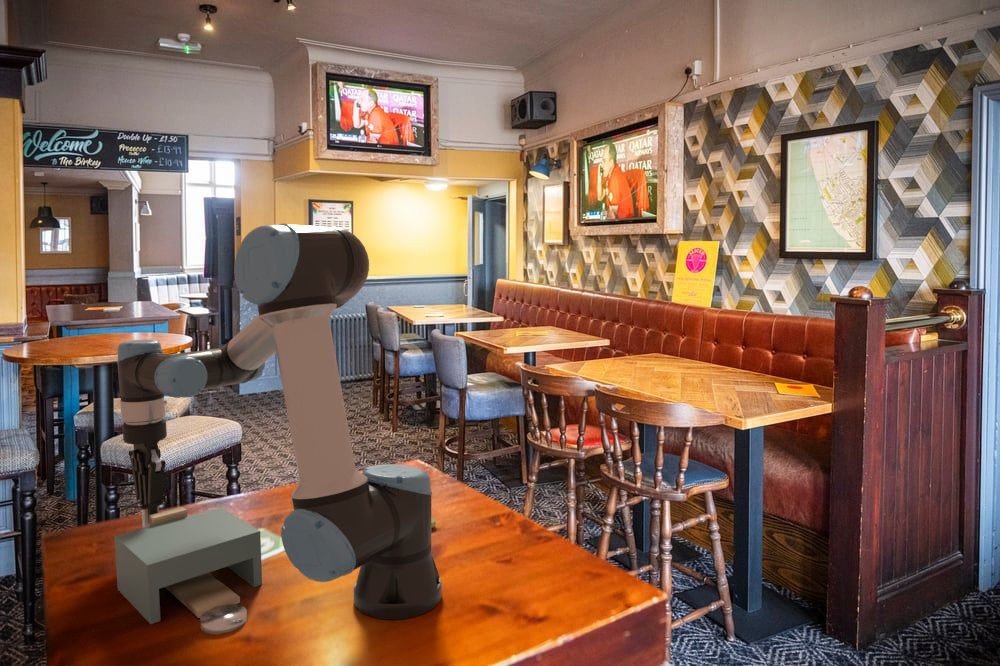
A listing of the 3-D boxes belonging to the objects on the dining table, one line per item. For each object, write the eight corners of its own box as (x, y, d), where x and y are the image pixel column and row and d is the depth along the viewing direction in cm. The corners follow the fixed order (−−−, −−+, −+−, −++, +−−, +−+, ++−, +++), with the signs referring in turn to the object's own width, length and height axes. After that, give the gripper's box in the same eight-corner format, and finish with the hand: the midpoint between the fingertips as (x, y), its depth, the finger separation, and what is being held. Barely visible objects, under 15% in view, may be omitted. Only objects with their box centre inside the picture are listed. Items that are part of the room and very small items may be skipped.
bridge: (262, 584, 125) (260, 531, 124) (150, 624, 112) (147, 565, 110) (223, 556, 136) (221, 507, 135) (117, 589, 123) (114, 535, 122)
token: (252, 626, 112) (252, 617, 112) (206, 640, 108) (206, 631, 108) (240, 608, 117) (239, 600, 117) (196, 621, 113) (195, 612, 113)
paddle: (240, 602, 118) (237, 540, 117) (198, 618, 113) (195, 553, 112) (188, 561, 133) (185, 506, 132) (149, 573, 128) (146, 516, 127)
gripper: (177, 422, 132) (184, 541, 135) (152, 411, 141) (159, 523, 144) (135, 429, 127) (143, 553, 129) (111, 418, 136) (120, 534, 138)
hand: (152, 537), depth 136 cm, fingers closed
